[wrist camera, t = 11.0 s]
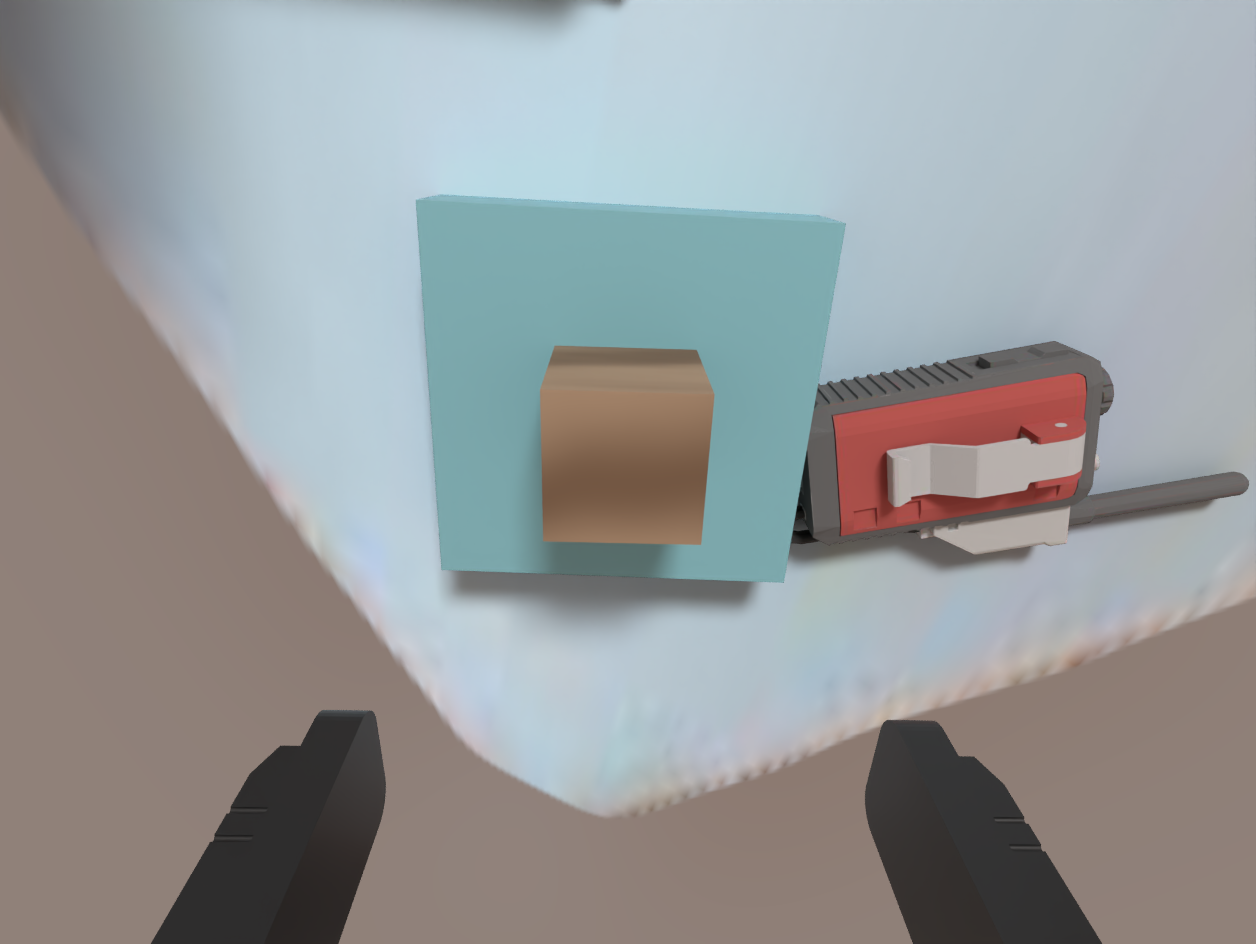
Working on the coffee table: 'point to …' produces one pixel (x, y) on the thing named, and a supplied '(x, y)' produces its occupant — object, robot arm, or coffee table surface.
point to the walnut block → (625, 445)
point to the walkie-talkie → (971, 453)
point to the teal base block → (628, 318)
